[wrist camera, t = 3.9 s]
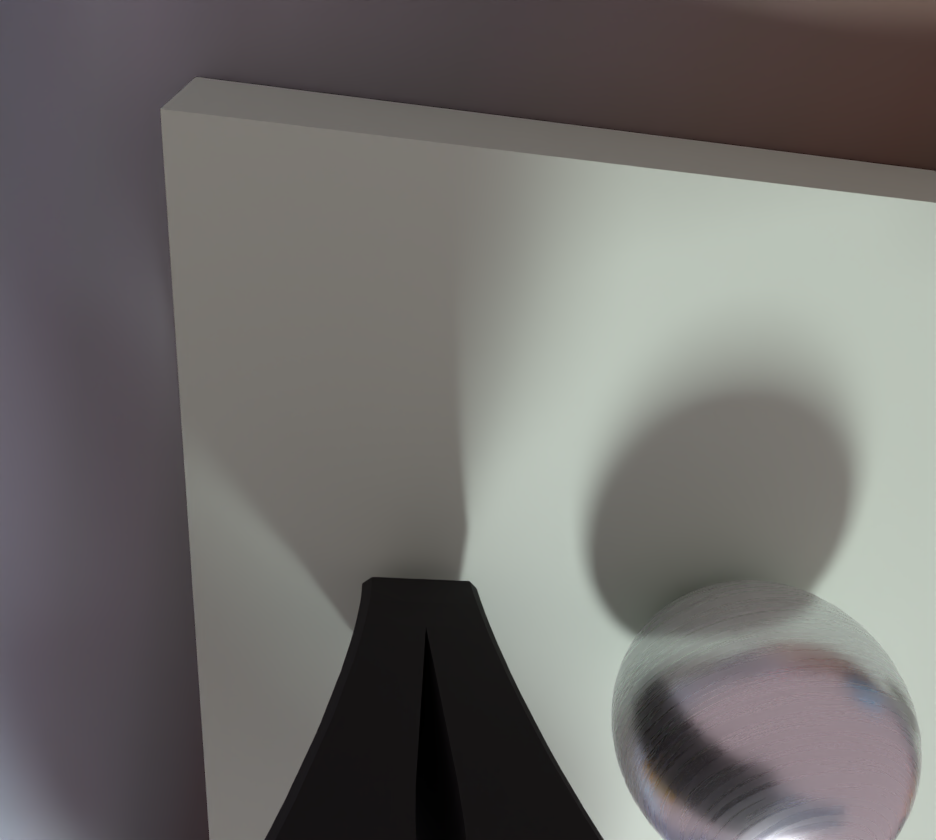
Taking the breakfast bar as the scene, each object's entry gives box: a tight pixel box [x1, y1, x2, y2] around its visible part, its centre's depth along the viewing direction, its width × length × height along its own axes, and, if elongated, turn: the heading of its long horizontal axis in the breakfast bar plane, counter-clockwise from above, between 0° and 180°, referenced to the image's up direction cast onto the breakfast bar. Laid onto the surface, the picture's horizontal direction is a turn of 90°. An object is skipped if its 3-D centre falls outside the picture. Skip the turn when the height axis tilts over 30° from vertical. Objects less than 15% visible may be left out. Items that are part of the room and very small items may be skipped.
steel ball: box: [611, 580, 922, 840], centre depth 10 cm, size 4×4×4 cm
